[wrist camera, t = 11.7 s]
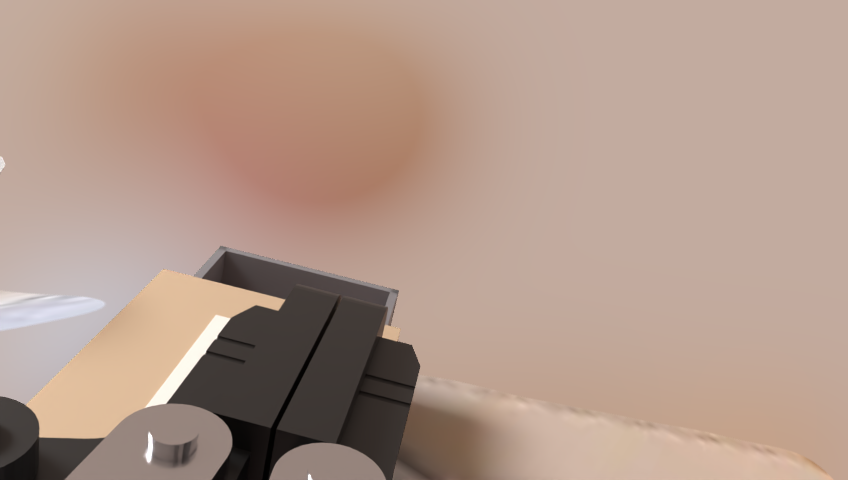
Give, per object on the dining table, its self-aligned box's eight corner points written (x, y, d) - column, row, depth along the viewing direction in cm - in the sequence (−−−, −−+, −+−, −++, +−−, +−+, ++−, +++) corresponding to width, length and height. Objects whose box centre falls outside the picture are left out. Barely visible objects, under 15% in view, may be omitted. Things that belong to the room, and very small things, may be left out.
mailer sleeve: (305, 693, 38) (345, 524, 34) (-7, 612, 39) (-7, 434, 34) (368, 460, 55) (401, 327, 51) (150, 405, 55) (163, 267, 51)
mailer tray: (291, 666, 39) (318, 540, 35) (19, 596, 39) (21, 464, 36) (377, 381, 62) (398, 290, 59) (209, 338, 63) (220, 245, 59)
